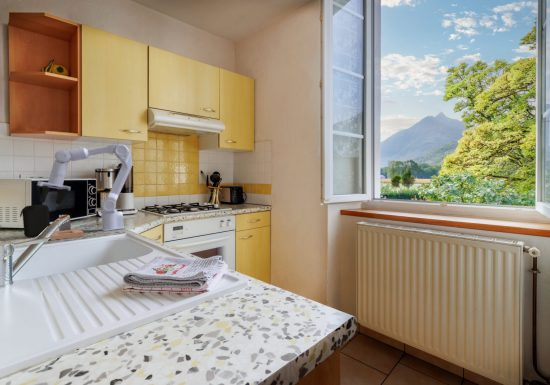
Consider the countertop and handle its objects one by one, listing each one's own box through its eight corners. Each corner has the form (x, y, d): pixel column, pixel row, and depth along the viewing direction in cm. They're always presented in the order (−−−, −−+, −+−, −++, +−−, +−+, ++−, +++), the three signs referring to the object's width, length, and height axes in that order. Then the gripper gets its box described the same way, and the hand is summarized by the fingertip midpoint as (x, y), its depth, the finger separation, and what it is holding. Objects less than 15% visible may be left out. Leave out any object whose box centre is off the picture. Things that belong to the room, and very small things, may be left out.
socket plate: (77, 233, 144) (77, 229, 144) (83, 236, 135) (83, 231, 135) (46, 237, 135) (46, 232, 135) (51, 240, 126) (50, 236, 126)
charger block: (68, 232, 148) (68, 218, 148) (71, 233, 145) (70, 219, 144) (59, 233, 145) (58, 219, 145) (61, 234, 142) (60, 220, 141)
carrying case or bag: (22, 239, 132) (20, 206, 131) (20, 238, 134) (18, 206, 133) (51, 235, 140) (49, 204, 140) (49, 234, 142) (47, 204, 142)
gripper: (66, 176, 149) (58, 203, 148) (36, 170, 135) (27, 199, 134) (76, 178, 147) (69, 205, 146) (47, 173, 133) (38, 202, 132)
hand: (50, 203), depth 140 cm, fingers open, 7 cm apart
